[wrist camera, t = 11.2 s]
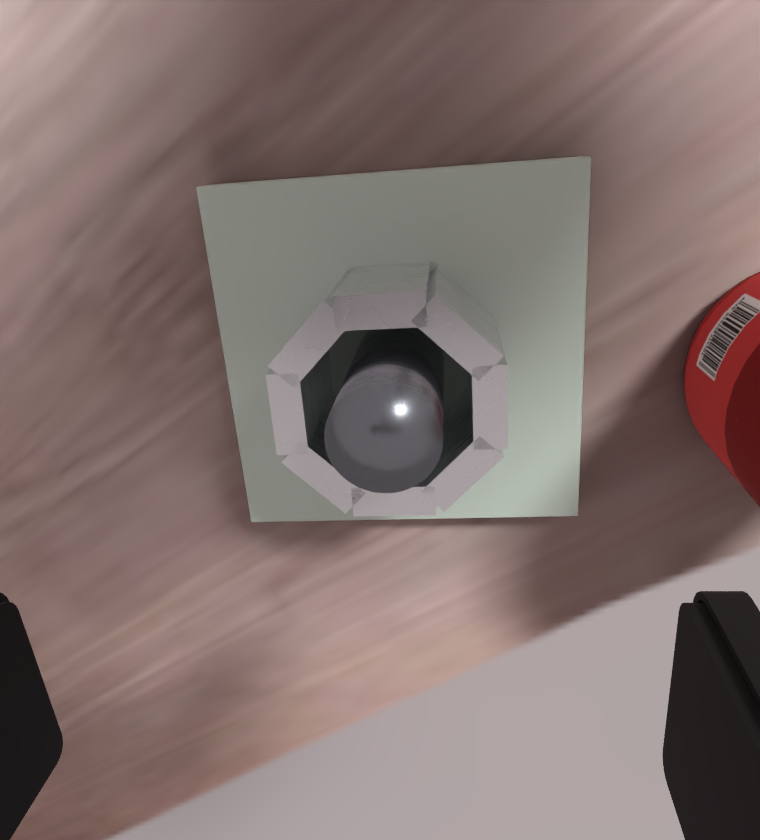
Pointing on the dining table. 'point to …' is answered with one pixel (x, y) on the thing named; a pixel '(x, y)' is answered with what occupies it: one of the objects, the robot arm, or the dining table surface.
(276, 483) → the green board
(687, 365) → the canned food
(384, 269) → the metal ring
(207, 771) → the dining table surface
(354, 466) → the steel post
